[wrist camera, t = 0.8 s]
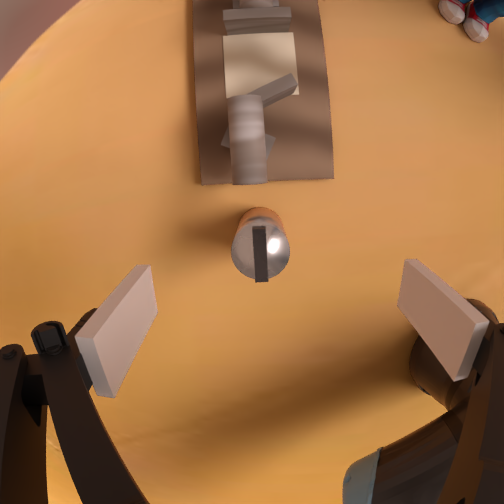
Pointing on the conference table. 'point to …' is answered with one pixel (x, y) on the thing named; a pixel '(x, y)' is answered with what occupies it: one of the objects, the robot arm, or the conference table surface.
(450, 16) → the toy
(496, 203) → the conference table surface
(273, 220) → the cylinder
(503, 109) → the conference table surface
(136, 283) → the robot arm
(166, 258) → the conference table surface
